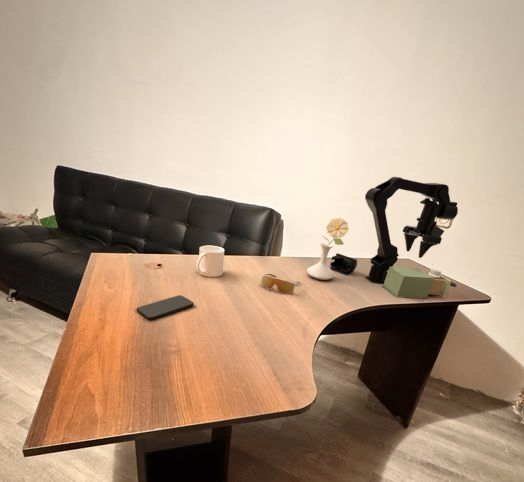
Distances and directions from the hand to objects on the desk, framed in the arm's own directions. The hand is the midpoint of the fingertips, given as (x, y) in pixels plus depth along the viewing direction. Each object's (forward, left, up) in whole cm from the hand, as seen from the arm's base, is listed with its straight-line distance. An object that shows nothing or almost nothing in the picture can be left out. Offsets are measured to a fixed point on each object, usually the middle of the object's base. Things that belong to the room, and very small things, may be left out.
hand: (413, 254), depth 130 cm
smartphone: (-99, -34, -13) cm, 105 cm away
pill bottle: (+4, -11, -11) cm, 16 cm away
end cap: (-26, +10, -13) cm, 31 cm away
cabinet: (-7, -11, -13) cm, 18 cm away
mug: (-87, -4, -13) cm, 88 cm away
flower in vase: (-40, -1, -13) cm, 42 cm away
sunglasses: (-60, -12, -13) cm, 62 cm away
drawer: (+5, -11, -12) cm, 17 cm away
